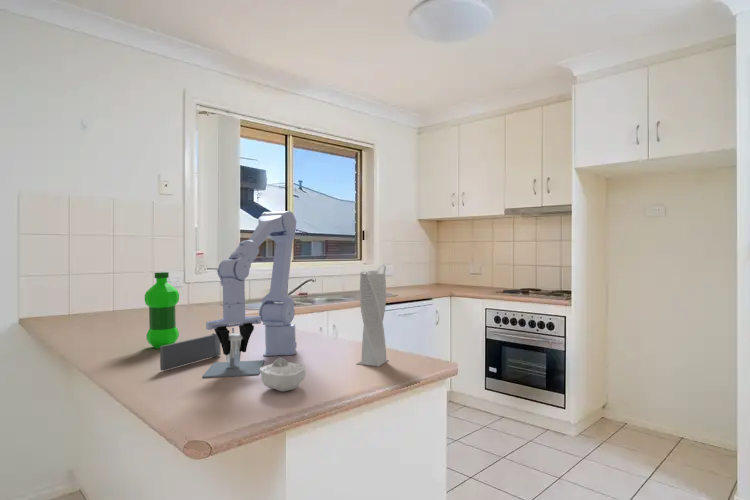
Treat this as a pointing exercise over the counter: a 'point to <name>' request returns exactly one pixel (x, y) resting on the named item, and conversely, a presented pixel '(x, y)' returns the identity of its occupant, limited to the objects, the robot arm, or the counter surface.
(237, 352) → the milkshake
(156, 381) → the counter surface
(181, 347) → the grey rectangular panel
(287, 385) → the cell model
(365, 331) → the skyscraper
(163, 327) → the plastic bottle
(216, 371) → the mat
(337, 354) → the counter surface
